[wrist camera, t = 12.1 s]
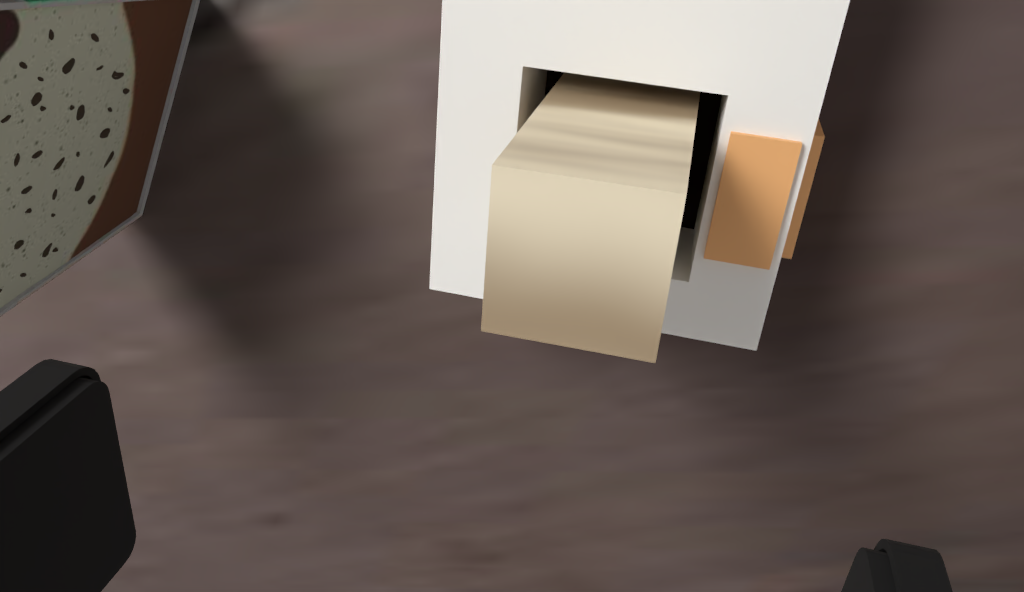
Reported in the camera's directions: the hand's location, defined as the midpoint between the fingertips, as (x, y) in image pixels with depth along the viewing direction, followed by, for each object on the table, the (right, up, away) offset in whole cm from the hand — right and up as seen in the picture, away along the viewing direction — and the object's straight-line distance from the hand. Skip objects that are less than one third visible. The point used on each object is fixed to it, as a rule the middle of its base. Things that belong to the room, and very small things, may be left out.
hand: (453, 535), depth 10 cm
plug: (+4, +8, +16) cm, 19 cm away
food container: (-14, +11, +20) cm, 27 cm away
